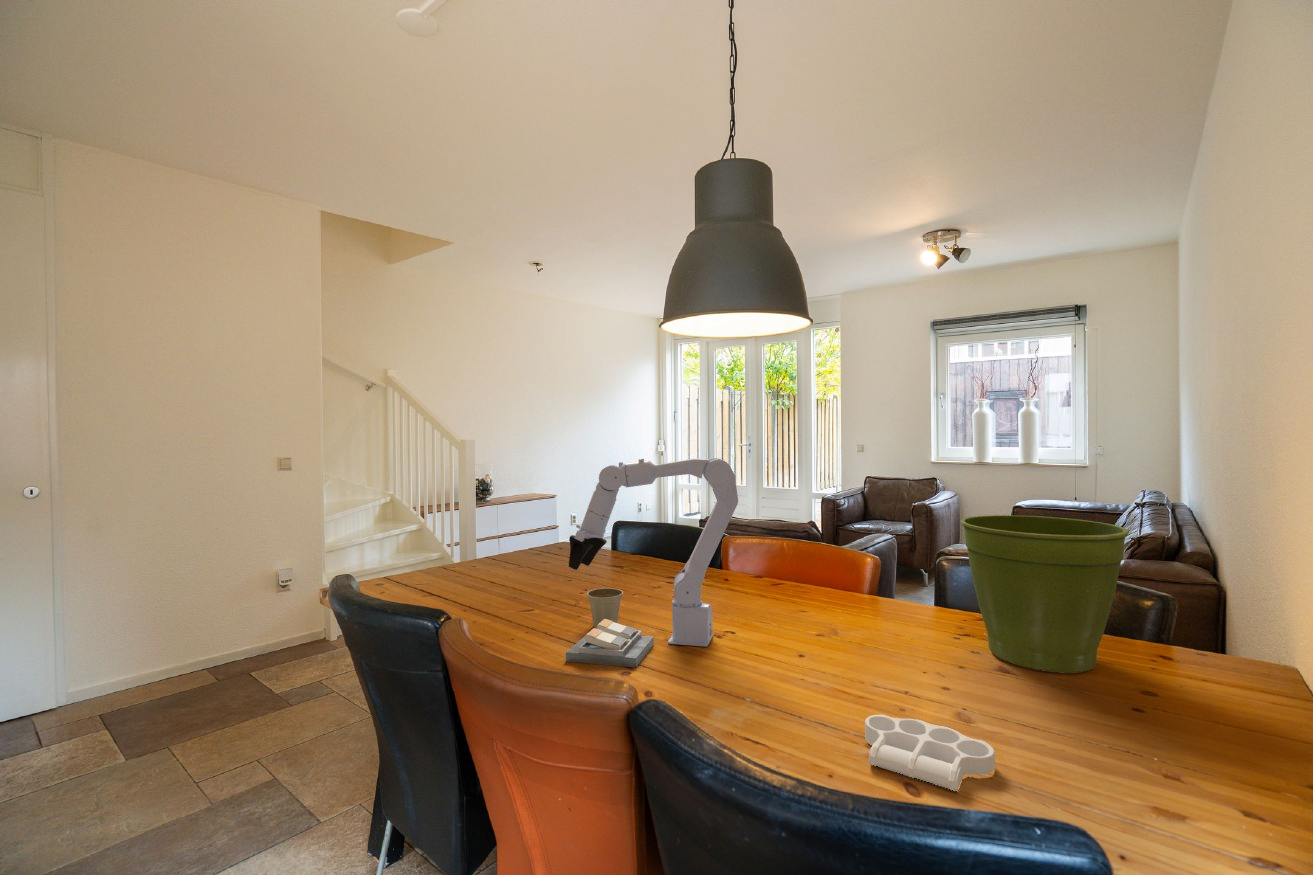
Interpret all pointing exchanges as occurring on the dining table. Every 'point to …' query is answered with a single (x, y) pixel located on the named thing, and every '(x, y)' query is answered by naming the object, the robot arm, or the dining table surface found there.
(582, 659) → the panel
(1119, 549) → the plant pot
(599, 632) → the breaker
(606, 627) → the block
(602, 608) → the flower pot
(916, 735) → the knuckle duster
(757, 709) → the dining table surface
